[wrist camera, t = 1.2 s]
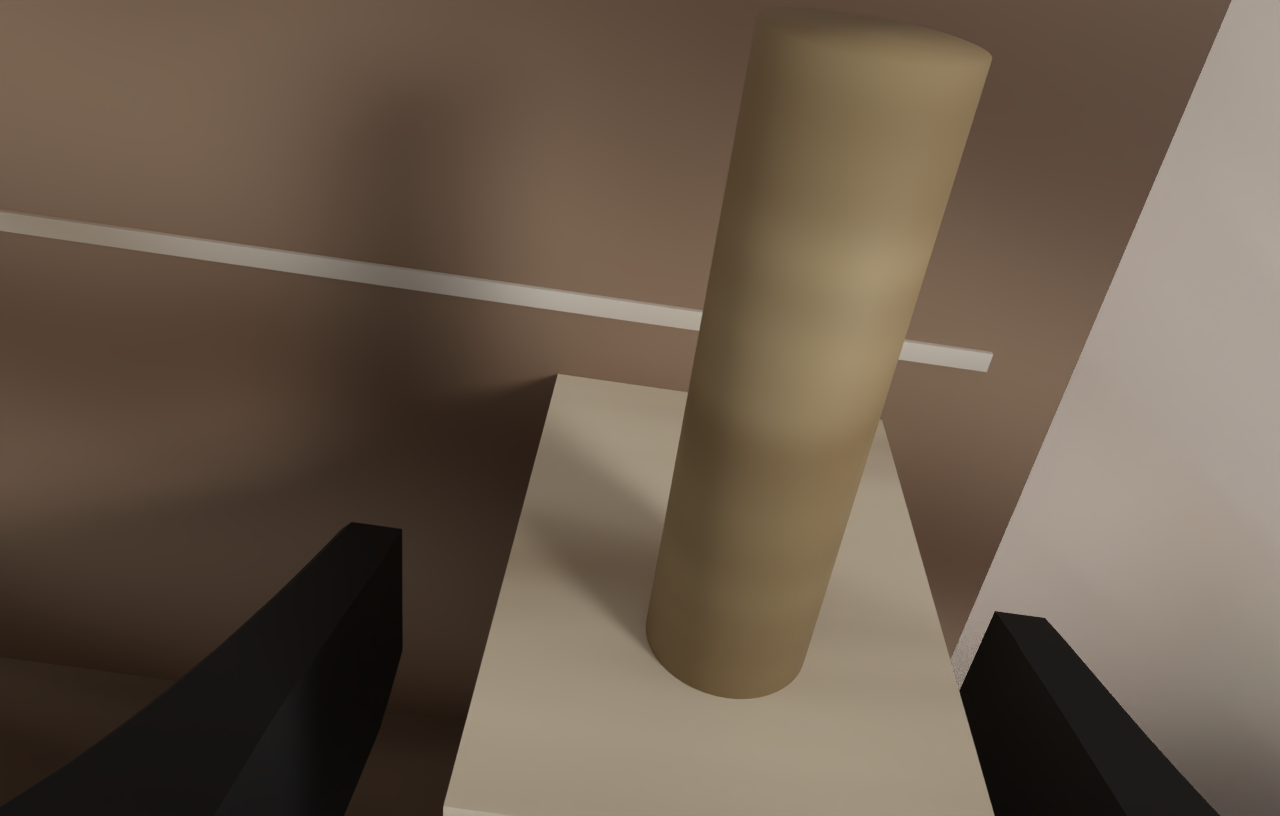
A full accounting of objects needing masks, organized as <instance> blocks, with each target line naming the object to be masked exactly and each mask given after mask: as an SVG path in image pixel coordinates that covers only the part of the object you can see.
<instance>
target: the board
mask: <svg viewBox="0 0 1280 816" xmlns="http://www.w3.org/2000/svg"><path fill="white" fill-rule="evenodd" d="M1230 3H1231V0H0V806H2V805H4V804H5V803H7V802H8V801H10V800H11V799H13V798H14V797H16V796H17V795H19V794H21V793H22V792H24V791H25V790H27V789H28V788H30V787H31V786H33V785H34V784H36V783H37V782H39V781H40V780H42V779H44V778H45V777H47V776H48V775H50V774H51V773H53V772H54V771H56V770H57V769H59V768H60V767H62V766H63V765H65V764H66V763H68V762H69V761H71V760H72V759H74V758H75V757H77V756H78V755H79V754H81V753H82V752H84V751H85V750H86V749H88V748H89V747H91V746H92V745H94V744H95V743H96V742H98V741H99V740H101V739H102V738H103V737H105V736H106V735H108V734H109V733H110V732H112V731H113V730H114V729H116V728H117V727H119V726H120V725H121V724H123V723H124V722H125V721H127V720H128V719H129V718H131V717H132V716H133V715H135V714H136V713H137V712H138V711H140V710H141V709H142V708H144V707H145V706H146V705H148V704H149V703H150V702H152V701H153V700H154V699H155V698H157V697H158V696H159V695H160V694H162V693H163V692H164V691H165V690H167V689H168V688H169V687H170V686H171V685H173V684H174V683H175V682H176V681H177V680H179V679H180V678H181V677H182V676H184V675H185V674H186V673H187V672H188V671H190V670H191V669H192V668H193V667H194V666H196V665H197V664H198V663H199V662H200V661H202V660H203V659H204V658H205V657H207V656H208V655H209V654H210V653H211V652H213V651H214V650H215V649H216V648H217V647H218V646H220V645H221V644H222V643H223V642H224V641H225V640H226V639H228V638H229V637H230V636H231V635H232V634H233V633H234V632H235V631H236V630H237V629H239V628H240V627H241V626H242V625H243V624H244V623H245V622H246V621H247V620H248V619H250V618H251V617H252V616H253V615H254V614H255V613H256V612H257V611H258V610H259V609H261V608H262V607H263V606H264V605H265V604H266V603H267V602H268V601H269V600H270V599H272V598H273V597H274V596H275V595H276V594H277V593H278V592H279V591H280V590H281V589H282V588H283V587H284V586H285V585H286V584H287V583H288V582H289V581H290V580H291V579H292V578H293V577H294V576H295V575H296V574H297V573H299V572H300V571H301V570H302V569H303V568H304V567H305V566H306V565H307V564H308V563H309V562H310V561H311V560H312V559H313V558H314V557H315V556H316V555H317V554H318V553H319V552H320V551H321V550H322V549H323V547H324V546H325V545H326V544H327V543H328V542H329V541H330V540H331V539H332V538H333V537H334V536H335V535H336V534H337V533H338V532H339V531H340V530H341V529H342V528H343V527H345V526H346V525H348V524H349V523H351V522H356V523H363V524H371V525H378V526H385V527H392V528H399V529H402V614H403V651H402V654H401V658H400V661H399V665H398V668H397V672H396V676H395V679H394V683H393V686H392V690H391V694H390V697H389V700H388V704H387V707H386V710H385V714H384V717H383V721H382V724H381V727H380V730H379V732H378V735H377V737H376V740H375V742H374V745H373V747H372V750H371V752H370V755H369V757H368V759H367V762H366V764H365V767H364V769H363V771H362V774H361V776H360V779H359V781H358V784H357V786H356V788H355V791H354V793H353V796H352V798H351V800H350V803H349V805H348V808H347V810H346V812H345V815H344V816H443V806H444V802H445V798H446V795H447V791H448V787H449V783H450V780H451V776H452V772H453V768H454V764H455V761H456V757H457V753H458V749H459V746H460V742H461V738H462V734H463V730H464V727H465V723H466V719H467V715H468V712H469V708H470V704H471V700H472V696H473V693H474V689H475V685H476V681H477V678H478V674H479V670H480V666H481V662H482V659H483V655H484V651H485V647H486V644H487V640H488V636H489V632H490V629H491V625H492V621H493V617H494V613H495V610H496V606H497V602H498V598H499V595H500V591H501V587H502V583H503V579H504V576H505V572H506V568H507V564H508V561H509V557H510V553H511V549H512V545H513V542H514V538H515V534H516V530H517V527H518V523H519V519H520V515H521V511H522V508H523V504H524V500H525V496H526V493H527V489H528V485H529V481H530V477H531V474H532V470H533V466H534V462H535V459H536V455H537V451H538V447H539V444H540V440H541V436H542V432H543V428H544V425H545V421H546V417H547V413H548V410H549V406H550V402H551V398H552V394H553V391H554V387H555V383H556V379H557V376H558V374H562V375H569V376H576V377H583V378H591V379H598V380H605V381H612V382H619V383H626V384H633V385H640V386H647V387H654V388H661V389H668V390H675V391H682V392H688V390H689V384H690V379H691V373H692V368H693V362H694V357H695V351H696V346H697V340H698V335H699V329H700V324H701V318H702V313H703V308H704V302H705V297H706V291H707V286H708V280H709V275H710V269H711V264H712V258H713V253H714V247H715V242H716V236H717V231H718V225H719V220H720V214H721V209H722V203H723V198H724V192H725V187H726V182H727V176H728V171H729V165H730V160H731V154H732V149H733V143H734V138H735V132H736V127H737V121H738V116H739V110H740V105H741V99H742V94H743V88H744V83H745V77H746V72H747V66H748V61H749V56H750V50H751V45H752V39H753V34H754V28H755V23H756V17H757V15H758V14H759V13H760V12H762V11H766V10H770V9H780V8H807V9H821V10H832V11H840V12H848V13H855V14H862V15H868V16H874V17H879V18H885V19H890V20H895V21H900V22H904V23H909V24H913V25H917V26H921V27H925V28H929V29H932V30H936V31H939V32H943V33H946V34H949V35H952V36H955V37H958V38H961V39H963V40H966V41H969V42H971V43H973V44H975V45H978V46H979V47H981V48H983V49H985V50H986V51H987V52H989V53H990V55H991V56H992V61H991V64H990V68H989V71H988V74H987V77H986V80H985V84H984V87H983V90H982V93H981V96H980V100H979V103H978V106H977V109H976V112H975V116H974V119H973V122H972V125H971V128H970V132H969V135H968V138H967V141H966V144H965V148H964V151H963V154H962V157H961V160H960V164H959V167H958V170H957V173H956V176H955V180H954V183H953V186H952V189H951V193H950V196H949V199H948V202H947V205H946V209H945V212H944V215H943V218H942V221H941V225H940V228H939V231H938V234H937V237H936V241H935V244H934V247H933V250H932V253H931V257H930V260H929V263H928V266H927V269H926V273H925V276H924V279H923V282H922V285H921V289H920V292H919V295H918V298H917V301H916V305H915V308H914V311H913V314H912V317H911V321H910V324H909V327H908V330H907V333H906V337H905V340H904V343H903V346H902V349H901V353H900V356H899V359H898V362H897V365H896V369H895V372H894V375H893V378H892V381H891V385H890V388H889V391H888V394H887V398H886V401H885V404H884V407H883V410H882V414H881V417H880V420H882V421H883V425H884V428H885V432H886V435H887V439H888V442H889V446H890V449H891V453H892V456H893V460H894V464H895V467H896V471H897V474H898V478H899V481H900V485H901V488H902V492H903V495H904V499H905V502H906V506H907V509H908V513H909V516H910V520H911V523H912V527H913V530H914V534H915V537H916V541H917V545H918V548H919V552H920V555H921V559H922V562H923V566H924V569H925V573H926V576H927V580H928V583H929V587H930V590H931V594H932V597H933V601H934V604H935V608H936V611H937V615H938V618H939V622H940V626H941V629H942V633H943V636H944V640H945V643H946V647H947V650H948V654H949V657H950V659H951V657H952V655H953V652H954V650H955V648H956V645H957V643H958V640H959V638H960V636H961V633H962V631H963V629H964V626H965V624H966V622H967V619H968V617H969V615H970V612H971V610H972V608H973V605H974V603H975V601H976V598H977V596H978V594H979V591H980V589H981V587H982V584H983V582H984V580H985V577H986V575H987V572H988V570H989V568H990V565H991V563H992V561H993V558H994V556H995V554H996V551H997V549H998V547H999V544H1000V542H1001V540H1002V537H1003V535H1004V533H1005V530H1006V528H1007V526H1008V523H1009V521H1010V519H1011V516H1012V514H1013V511H1014V509H1015V507H1016V504H1017V502H1018V500H1019V497H1020V495H1021V493H1022V490H1023V488H1024V486H1025V483H1026V481H1027V479H1028V476H1029V474H1030V472H1031V469H1032V467H1033V465H1034V462H1035V460H1036V458H1037V455H1038V453H1039V451H1040V448H1041V446H1042V443H1043V441H1044V439H1045V436H1046V434H1047V432H1048V429H1049V427H1050V425H1051V422H1052V420H1053V418H1054V415H1055V413H1056V411H1057V408H1058V406H1059V404H1060V401H1061V399H1062V397H1063V394H1064V392H1065V390H1066V387H1067V385H1068V382H1069V380H1070V378H1071V375H1072V373H1073V371H1074V368H1075V366H1076V364H1077V361H1078V359H1079V357H1080V354H1081V352H1082V350H1083V347H1084V345H1085V343H1086V340H1087V338H1088V336H1089V333H1090V331H1091V329H1092V326H1093V324H1094V322H1095V319H1096V317H1097V314H1098V312H1099V310H1100V307H1101V305H1102V303H1103V300H1104V298H1105V296H1106V293H1107V291H1108V289H1109V286H1110V284H1111V282H1112V279H1113V277H1114V275H1115V272H1116V270H1117V268H1118V265H1119V263H1120V261H1121V258H1122V256H1123V254H1124V251H1125V249H1126V246H1127V244H1128V242H1129V239H1130V237H1131V235H1132V232H1133V230H1134V228H1135V225H1136V223H1137V221H1138V218H1139V216H1140V214H1141V211H1142V209H1143V207H1144V204H1145V202H1146V200H1147V197H1148V195H1149V193H1150V190H1151V188H1152V185H1153V183H1154V181H1155V178H1156V176H1157V174H1158V171H1159V169H1160V167H1161V164H1162V162H1163V160H1164V157H1165V155H1166V153H1167V150H1168V148H1169V146H1170V143H1171V141H1172V139H1173V136H1174V134H1175V132H1176V129H1177V127H1178V125H1179V122H1180V120H1181V117H1182V115H1183V113H1184V110H1185V108H1186V106H1187V103H1188V101H1189V99H1190V96H1191V94H1192V92H1193V89H1194V87H1195V85H1196V82H1197V80H1198V78H1199V75H1200V73H1201V71H1202V68H1203V66H1204V64H1205V61H1206V59H1207V56H1208V54H1209V52H1210V49H1211V47H1212V45H1213V42H1214V40H1215V38H1216V35H1217V33H1218V31H1219V28H1220V26H1221V24H1222V21H1223V19H1224V17H1225V14H1226V12H1227V10H1228V7H1229V5H1230Z"/></svg>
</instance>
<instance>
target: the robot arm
mask: <svg viewBox="0 0 1280 816" xmlns="http://www.w3.org/2000/svg"><path fill="white" fill-rule="evenodd" d="M402 651H403V614H402V529H399V528H392V527H385V526H378V525H371V524H363V523H356V522H351V523H349V524H348V525H346V526H345V527H343V528H342V529H341V530H340V531H339V532H338V533H337V534H336V535H335V536H334V537H333V538H332V539H331V540H330V541H329V542H328V543H327V544H326V545H325V546H324V547H323V549H322V550H321V551H320V552H319V553H318V554H317V555H316V556H315V557H314V558H313V559H312V560H311V561H310V562H309V563H308V564H307V565H306V566H305V567H304V568H303V569H302V570H301V571H300V572H299V573H297V574H296V575H295V576H294V577H293V578H292V579H291V580H290V581H289V582H288V583H287V584H286V585H285V586H284V587H283V588H282V589H281V590H280V591H279V592H278V593H277V594H276V595H275V596H274V597H273V598H272V599H270V600H269V601H268V602H267V603H266V604H265V605H264V606H263V607H262V608H261V609H259V610H258V611H257V612H256V613H255V614H254V615H253V616H252V617H251V618H250V619H248V620H247V621H246V622H245V623H244V624H243V625H242V626H241V627H240V628H239V629H237V630H236V631H235V632H234V633H233V634H232V635H231V636H230V637H229V638H228V639H226V640H225V641H224V642H223V643H222V644H221V645H220V646H218V647H217V648H216V649H215V650H214V651H213V652H211V653H210V654H209V655H208V656H207V657H205V658H204V659H203V660H202V661H200V662H199V663H198V664H197V665H196V666H194V667H193V668H192V669H191V670H190V671H188V672H187V673H186V674H185V675H184V676H182V677H181V678H180V679H179V680H177V681H176V682H175V683H174V684H173V685H171V686H170V687H169V688H168V689H167V690H165V691H164V692H163V693H162V694H160V695H159V696H158V697H157V698H155V699H154V700H153V701H152V702H150V703H149V704H148V705H146V706H145V707H144V708H142V709H141V710H140V711H138V712H137V713H136V714H135V715H133V716H132V717H131V718H129V719H128V720H127V721H125V722H124V723H123V724H121V725H120V726H119V727H117V728H116V729H114V730H113V731H112V732H110V733H109V734H108V735H106V736H105V737H103V738H102V739H101V740H99V741H98V742H96V743H95V744H94V745H92V746H91V747H89V748H88V749H86V750H85V751H84V752H82V753H81V754H79V755H78V756H77V757H75V758H74V759H72V760H71V761H69V762H68V763H66V764H65V765H63V766H62V767H60V768H59V769H57V770H56V771H54V772H53V773H51V774H50V775H48V776H47V777H45V778H44V779H42V780H40V781H39V782H37V783H36V784H34V785H33V786H31V787H30V788H28V789H27V790H25V791H24V792H22V793H21V794H19V795H17V796H16V797H14V798H13V799H11V800H10V801H8V802H7V803H5V804H4V805H2V806H0V816H344V815H345V812H346V810H347V808H348V805H349V803H350V800H351V798H352V796H353V793H354V791H355V788H356V786H357V784H358V781H359V779H360V776H361V774H362V771H363V769H364V767H365V764H366V762H367V759H368V757H369V755H370V752H371V750H372V747H373V745H374V742H375V740H376V737H377V735H378V732H379V730H380V727H381V724H382V721H383V717H384V714H385V710H386V707H387V704H388V700H389V697H390V694H391V690H392V686H393V683H394V679H395V676H396V672H397V668H398V665H399V661H400V658H401V654H402ZM959 692H960V696H961V699H962V703H963V706H964V710H965V714H966V717H967V721H968V724H969V728H970V731H971V735H972V738H973V742H974V745H975V749H976V752H977V756H978V759H979V763H980V766H981V770H982V773H983V777H984V780H985V784H986V787H987V791H988V795H989V798H990V802H991V805H992V809H993V812H994V816H1220V815H1219V814H1218V813H1217V812H1216V811H1215V810H1214V809H1213V808H1212V807H1211V806H1210V805H1209V804H1208V803H1207V802H1206V800H1205V799H1204V798H1203V797H1202V796H1201V795H1200V794H1199V793H1198V792H1197V791H1196V790H1195V789H1194V788H1193V786H1192V785H1191V784H1190V783H1189V782H1188V781H1187V780H1186V779H1185V778H1184V777H1183V776H1182V775H1181V773H1180V772H1179V771H1178V770H1177V769H1176V768H1175V767H1174V766H1173V765H1172V764H1171V762H1170V761H1169V760H1168V759H1167V758H1166V757H1165V756H1164V755H1163V753H1162V752H1161V751H1160V750H1159V749H1158V748H1157V747H1156V746H1155V744H1154V743H1153V742H1152V741H1151V740H1150V739H1149V738H1148V737H1147V735H1146V734H1145V733H1144V732H1143V731H1142V730H1141V729H1140V727H1139V726H1138V725H1137V724H1136V723H1135V722H1134V720H1133V719H1132V718H1131V717H1130V716H1129V715H1128V714H1127V712H1126V711H1125V710H1124V709H1123V708H1122V707H1121V705H1120V704H1119V703H1118V702H1117V701H1116V700H1115V698H1114V697H1113V696H1112V695H1111V694H1110V693H1109V691H1108V690H1107V689H1106V688H1105V687H1104V686H1103V684H1102V683H1101V682H1100V681H1099V680H1098V679H1097V677H1096V676H1095V675H1094V674H1093V673H1092V671H1091V670H1090V669H1089V668H1088V667H1087V666H1086V664H1085V663H1084V662H1083V661H1082V660H1081V659H1080V657H1079V656H1078V655H1077V654H1076V653H1075V652H1074V650H1073V649H1072V648H1071V647H1070V646H1069V645H1068V643H1067V642H1066V641H1065V640H1064V639H1063V638H1062V637H1061V635H1060V634H1059V633H1058V632H1057V631H1056V630H1055V629H1054V628H1053V627H1052V625H1051V624H1050V623H1049V622H1048V621H1047V620H1046V619H1045V618H1040V617H1033V616H1026V615H1018V614H1011V613H1004V612H997V611H995V613H994V615H993V617H992V619H991V622H990V624H989V626H988V628H987V630H986V633H985V635H984V637H983V639H982V642H981V644H980V646H979V648H978V651H977V653H976V655H975V657H974V660H973V662H972V664H971V666H970V669H969V671H968V673H967V675H966V678H965V680H964V682H963V684H962V687H961V689H960V691H959Z"/></svg>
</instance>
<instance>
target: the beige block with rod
mask: <svg viewBox="0 0 1280 816" xmlns="http://www.w3.org/2000/svg"><path fill="white" fill-rule="evenodd" d="M991 61H992V56H991V55H990V53H989V52H987V51H986V50H985V49H983V48H981V47H979V46H978V45H975V44H973V43H971V42H969V41H966V40H963V39H961V38H958V37H955V36H952V35H949V34H946V33H943V32H939V31H936V30H932V29H929V28H925V27H921V26H917V25H913V24H909V23H904V22H900V21H895V20H890V19H885V18H879V17H874V16H868V15H862V14H855V13H848V12H840V11H832V10H821V9H807V8H780V9H770V10H766V11H762V12H760V13H759V14H758V15H757V17H756V23H755V28H754V34H753V39H752V45H751V50H750V56H749V61H748V66H747V72H746V77H745V83H744V88H743V94H742V99H741V105H740V110H739V116H738V121H737V127H736V132H735V138H734V143H733V149H732V154H731V160H730V165H729V171H728V176H727V182H726V187H725V192H724V198H723V203H722V209H721V214H720V220H719V225H718V231H717V236H716V242H715V247H714V253H713V258H712V264H711V269H710V275H709V280H708V286H707V291H706V297H705V302H704V308H703V313H702V318H701V324H700V329H699V335H698V340H697V346H696V351H695V357H694V362H693V368H692V373H691V379H690V384H689V390H688V392H682V391H675V390H668V389H661V388H654V387H647V386H640V385H633V384H626V383H619V382H612V381H605V380H598V379H591V378H583V377H576V376H569V375H562V374H558V376H557V379H556V383H555V387H554V391H553V394H552V398H551V402H550V406H549V410H548V413H547V417H546V421H545V425H544V428H543V432H542V436H541V440H540V444H539V447H538V451H537V455H536V459H535V462H534V466H533V470H532V474H531V477H530V481H529V485H528V489H527V493H526V496H525V500H524V504H523V508H522V511H521V515H520V519H519V523H518V527H517V530H516V534H515V538H514V542H513V545H512V549H511V553H510V557H509V561H508V564H507V568H506V572H505V576H504V579H503V583H502V587H501V591H500V595H499V598H498V602H497V606H496V610H495V613H494V617H493V621H492V625H491V629H490V632H489V636H488V640H487V644H486V647H485V651H484V655H483V659H482V662H481V666H480V670H479V674H478V678H477V681H476V685H475V689H474V693H473V696H472V700H471V704H470V708H469V712H468V715H467V719H466V723H465V727H464V730H463V734H462V738H461V742H460V746H459V749H458V753H457V757H456V761H455V764H454V768H453V772H452V776H451V780H450V783H449V787H448V791H447V795H446V798H445V802H444V806H443V816H994V812H993V809H992V805H991V802H990V798H989V795H988V791H987V787H986V784H985V780H984V777H983V773H982V770H981V766H980V763H979V759H978V756H977V752H976V749H975V745H974V742H973V738H972V735H971V731H970V728H969V724H968V721H967V717H966V714H965V710H964V706H963V703H962V699H961V696H960V692H959V689H958V685H957V682H956V678H955V675H954V671H953V668H952V664H951V661H950V657H949V654H948V650H947V647H946V643H945V640H944V636H943V633H942V629H941V626H940V622H939V618H938V615H937V611H936V608H935V604H934V601H933V597H932V594H931V590H930V587H929V583H928V580H927V576H926V573H925V569H924V566H923V562H922V559H921V555H920V552H919V548H918V545H917V541H916V537H915V534H914V530H913V527H912V523H911V520H910V516H909V513H908V509H907V506H906V502H905V499H904V495H903V492H902V488H901V485H900V481H899V478H898V474H897V471H896V467H895V464H894V460H893V456H892V453H891V449H890V446H889V442H888V439H887V435H886V432H885V428H884V425H883V421H882V420H880V417H881V414H882V410H883V407H884V404H885V401H886V398H887V394H888V391H889V388H890V385H891V381H892V378H893V375H894V372H895V369H896V365H897V362H898V359H899V356H900V353H901V349H902V346H903V343H904V340H905V337H906V333H907V330H908V327H909V324H910V321H911V317H912V314H913V311H914V308H915V305H916V301H917V298H918V295H919V292H920V289H921V285H922V282H923V279H924V276H925V273H926V269H927V266H928V263H929V260H930V257H931V253H932V250H933V247H934V244H935V241H936V237H937V234H938V231H939V228H940V225H941V221H942V218H943V215H944V212H945V209H946V205H947V202H948V199H949V196H950V193H951V189H952V186H953V183H954V180H955V176H956V173H957V170H958V167H959V164H960V160H961V157H962V154H963V151H964V148H965V144H966V141H967V138H968V135H969V132H970V128H971V125H972V122H973V119H974V116H975V112H976V109H977V106H978V103H979V100H980V96H981V93H982V90H983V87H984V84H985V80H986V77H987V74H988V71H989V68H990V64H991Z"/></svg>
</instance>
